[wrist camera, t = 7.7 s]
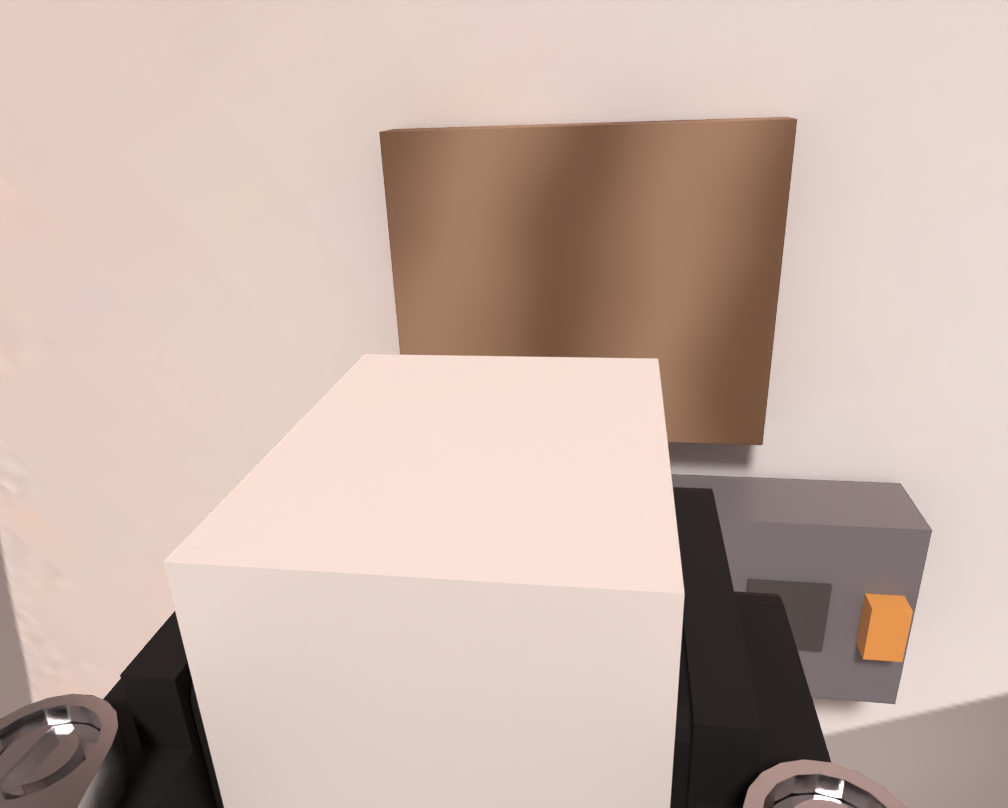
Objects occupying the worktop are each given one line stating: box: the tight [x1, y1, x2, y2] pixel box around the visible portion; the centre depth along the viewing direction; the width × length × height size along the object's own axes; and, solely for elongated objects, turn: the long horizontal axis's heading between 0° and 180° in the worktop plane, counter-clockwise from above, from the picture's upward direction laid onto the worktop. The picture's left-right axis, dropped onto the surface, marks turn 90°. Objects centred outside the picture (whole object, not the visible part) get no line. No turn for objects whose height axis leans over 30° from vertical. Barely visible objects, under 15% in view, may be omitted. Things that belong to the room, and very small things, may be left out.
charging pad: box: [379, 117, 797, 445], centre depth 24 cm, size 12×10×2 cm
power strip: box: [671, 474, 932, 704], centre depth 27 cm, size 18×7×4 cm, turn 92°
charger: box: [163, 354, 685, 808], centre depth 10 cm, size 4×6×6 cm
